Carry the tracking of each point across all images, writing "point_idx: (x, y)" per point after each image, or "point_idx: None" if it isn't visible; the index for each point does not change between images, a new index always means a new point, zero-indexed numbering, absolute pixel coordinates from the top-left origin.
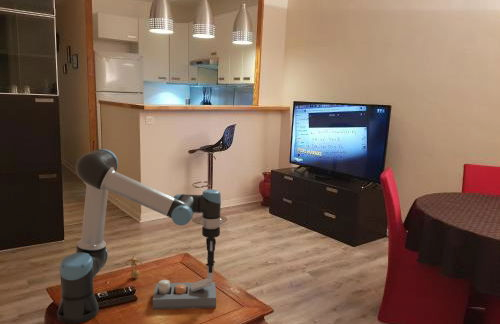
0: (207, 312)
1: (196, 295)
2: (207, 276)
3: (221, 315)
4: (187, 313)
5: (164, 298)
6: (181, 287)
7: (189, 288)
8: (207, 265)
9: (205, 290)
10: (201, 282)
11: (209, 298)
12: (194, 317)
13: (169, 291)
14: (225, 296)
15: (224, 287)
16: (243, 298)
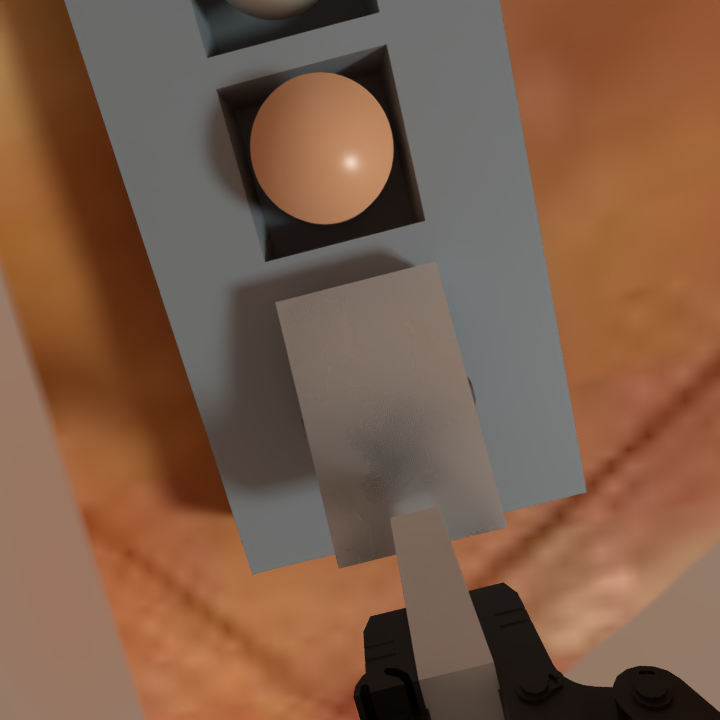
0: (176, 469)
1: (252, 370)
2: (395, 544)
3: (161, 584)
4: (113, 305)
5: (87, 9)
6: (305, 165)
7: (391, 249)
8: (367, 706)
9: None
10: (405, 414)
11: (234, 510)
12: (69, 383)
13: (275, 16)
14: (467, 557)
15: (628, 519)
16: None
